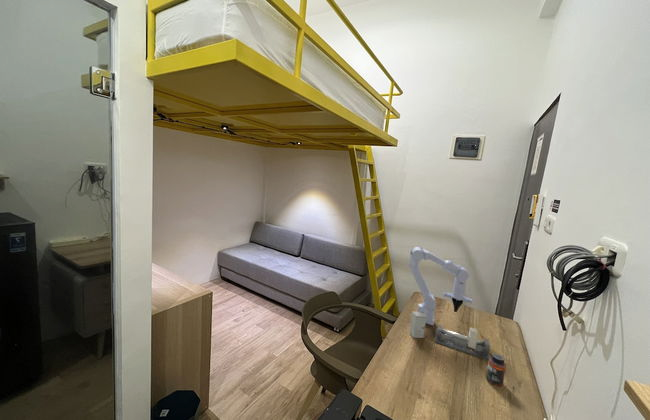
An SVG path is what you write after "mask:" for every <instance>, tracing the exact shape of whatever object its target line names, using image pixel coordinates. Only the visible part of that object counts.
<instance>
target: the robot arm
mask: <svg viewBox="0 0 650 420" xmlns="http://www.w3.org/2000/svg"><path fill="white" fill-rule="evenodd" d="M423 260H424V261H427V260H430V261H431V262H434V263H436V264H438V265H440V266H441V267H442V269H443V270H444V271H446V272H448V273H450V274H452V275H453V276H455V277H454V283H453V289H452V292H445V291H443V294H442V295H443V297H444V298H445V297H447V298H449V299H451V302H452V305H453V312H454V313H458V310H459V308H460V307H461V306H462V305H463V303H464V302H466V303H469V304H473V300H474V299H472V298H470V297H467V296H465V291H466V286H467V280H468V279H469V278H470V275H469V272H468V271H467V269H466V268H464V267H463V266H462V265H458V264H456V263H455V262H454V261H453V260H447V259H446V260H444V259H442V258H440V257H439V256H437V254H436V255H435V254H434V253H432V252H431V251H428V250H427V249H425V248H421V247H420V246H414V247H413V248H412V249H411V251H410V252H409V258H408V267H409V269H410V271H411V272H410V273H412V276H413V278H414V280H415V283H416V284H417V287H418V288H419V290H420V292H421V295H422V298H423V302H422V303H418V304H417V305H418V306H417V311H416V312H423V313H424V314H425V315H426V316H427V318H426V324H428V325H431V326H435V325H434V324H435V312H436V307H437V302H436V299H435V295H434V294H433V292H431V290H430V288H429V287H428V285H427V283H426V280H425V278H424V276H423V274H422V272H421V270H420V268H419V264H420V262H422V261H423Z"/></svg>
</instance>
